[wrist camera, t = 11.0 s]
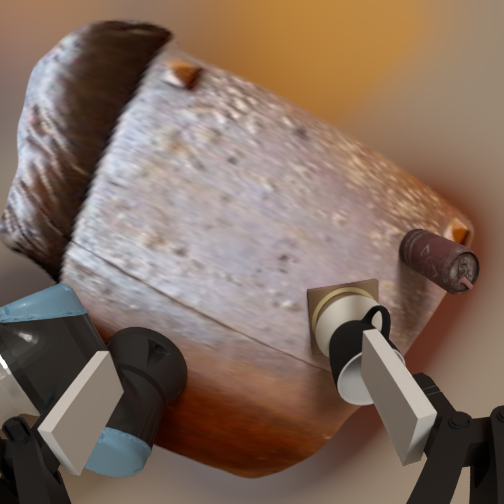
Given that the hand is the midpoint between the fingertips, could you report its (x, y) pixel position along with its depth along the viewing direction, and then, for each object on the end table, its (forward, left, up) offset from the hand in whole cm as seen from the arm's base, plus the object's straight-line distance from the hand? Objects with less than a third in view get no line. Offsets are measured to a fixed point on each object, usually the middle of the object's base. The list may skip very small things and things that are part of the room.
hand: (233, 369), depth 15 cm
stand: (+13, -14, -31) cm, 37 cm away
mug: (+14, -14, -27) cm, 33 cm away
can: (+26, -5, -32) cm, 41 cm away
